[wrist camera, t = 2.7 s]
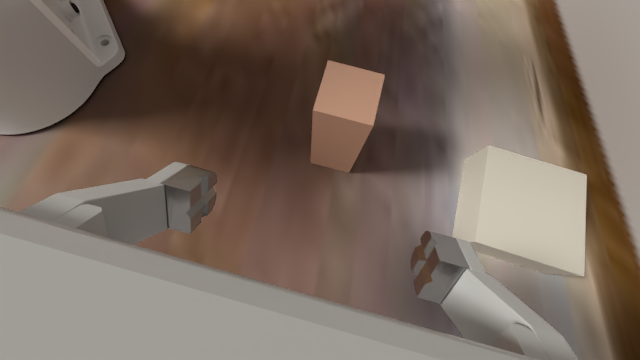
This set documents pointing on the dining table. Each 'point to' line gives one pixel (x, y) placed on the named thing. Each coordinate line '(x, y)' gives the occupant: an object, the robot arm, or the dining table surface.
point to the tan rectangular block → (343, 114)
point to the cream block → (523, 211)
